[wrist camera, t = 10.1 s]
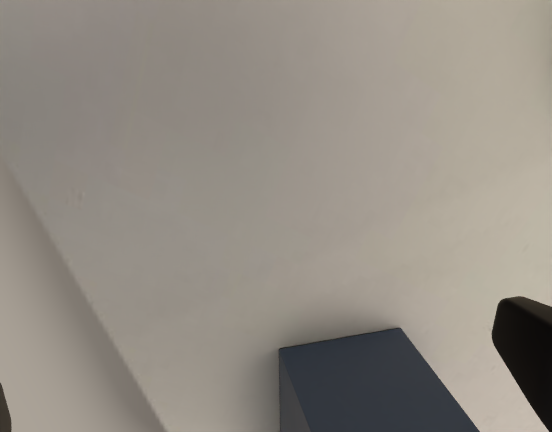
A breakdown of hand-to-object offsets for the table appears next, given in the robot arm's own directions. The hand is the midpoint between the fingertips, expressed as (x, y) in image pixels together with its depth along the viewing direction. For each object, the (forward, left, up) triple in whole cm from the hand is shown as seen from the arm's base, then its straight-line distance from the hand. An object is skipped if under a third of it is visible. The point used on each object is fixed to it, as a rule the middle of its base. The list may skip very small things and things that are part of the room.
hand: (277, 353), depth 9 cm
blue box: (+6, -14, -13) cm, 20 cm away
